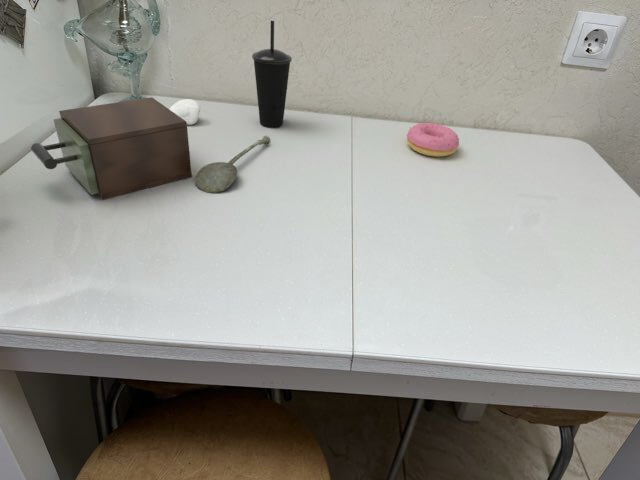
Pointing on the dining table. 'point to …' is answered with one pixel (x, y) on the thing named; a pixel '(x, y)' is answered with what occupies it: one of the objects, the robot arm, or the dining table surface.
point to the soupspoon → (222, 171)
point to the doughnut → (432, 139)
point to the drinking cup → (271, 83)
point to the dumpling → (187, 110)
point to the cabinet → (132, 144)
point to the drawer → (70, 155)
